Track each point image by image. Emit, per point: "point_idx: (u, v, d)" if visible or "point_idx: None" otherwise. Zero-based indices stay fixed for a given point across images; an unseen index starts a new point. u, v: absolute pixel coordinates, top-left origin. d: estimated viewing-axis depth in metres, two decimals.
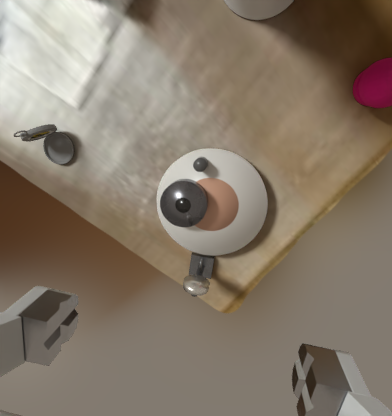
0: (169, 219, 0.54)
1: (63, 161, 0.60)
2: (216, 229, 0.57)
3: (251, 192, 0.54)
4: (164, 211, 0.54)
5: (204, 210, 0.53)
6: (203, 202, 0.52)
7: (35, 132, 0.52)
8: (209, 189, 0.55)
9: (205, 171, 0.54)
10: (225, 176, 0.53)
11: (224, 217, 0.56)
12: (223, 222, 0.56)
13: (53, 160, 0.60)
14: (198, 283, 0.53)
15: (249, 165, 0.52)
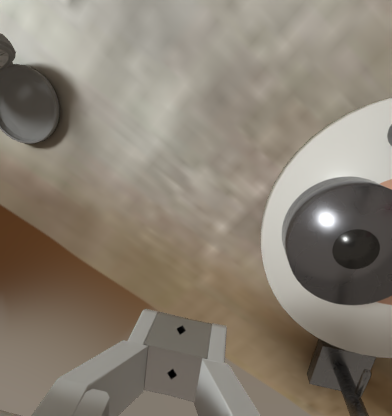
0: (308, 284, 0.21)
1: (35, 137, 0.26)
2: None
3: None
4: (297, 264, 0.20)
5: None
6: None
7: None
8: None
9: None
10: None
11: None
12: None
13: (13, 134, 0.26)
14: None
15: None
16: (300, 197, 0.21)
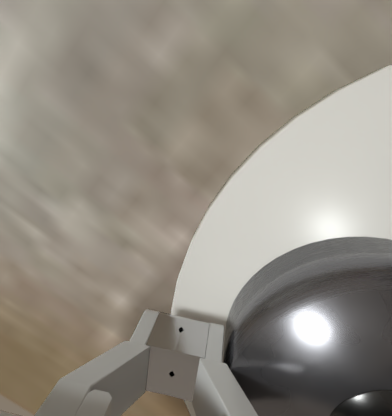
0: None
1: None
2: None
3: None
4: None
5: None
6: None
7: None
8: None
9: None
10: None
11: None
12: None
13: None
14: None
15: None
16: (256, 280, 0.10)
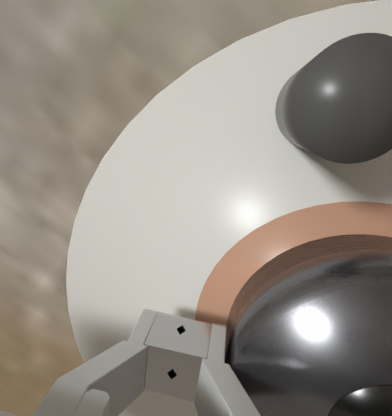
0: None
1: None
2: None
3: None
4: None
5: None
6: None
7: None
8: None
9: (334, 163, 0.09)
10: None
11: None
12: None
13: None
14: None
15: None
16: (256, 278, 0.10)
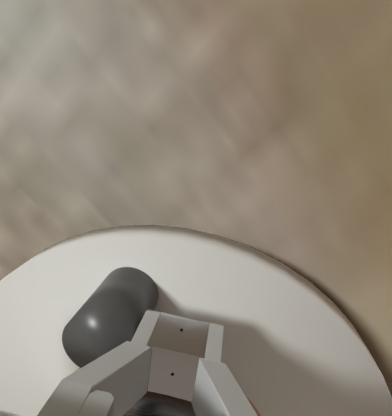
0: None
1: None
2: None
3: None
4: None
5: None
6: None
7: None
8: None
9: None
10: (230, 360, 0.12)
11: None
12: None
13: None
14: None
15: (349, 339, 0.11)
16: None
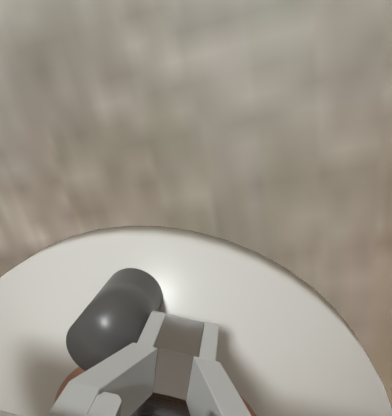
0: None
1: None
2: None
3: None
4: None
5: None
6: None
7: None
8: None
9: None
10: (231, 364, 0.12)
11: None
12: None
13: None
14: None
15: (352, 348, 0.11)
16: None
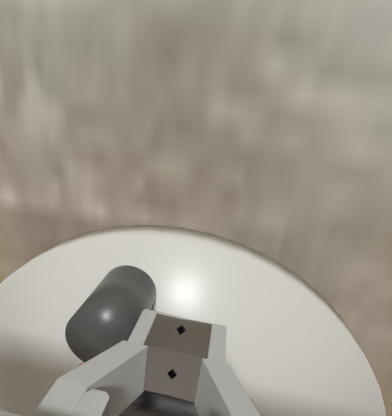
0: None
1: None
2: None
3: None
4: None
5: None
6: None
7: None
8: None
9: None
10: (225, 352, 0.13)
11: None
12: None
13: None
14: None
15: (337, 330, 0.12)
16: None
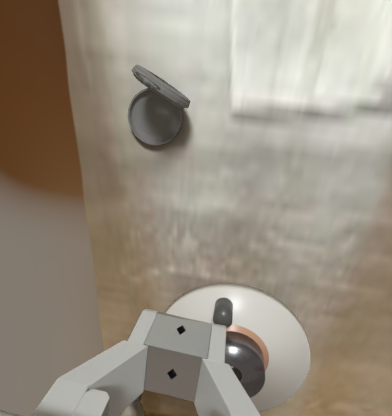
0: None
1: (140, 133, 0.35)
2: None
3: (289, 350, 0.38)
4: None
5: (260, 385, 0.37)
6: (261, 376, 0.37)
7: (164, 95, 0.27)
8: None
9: None
10: (255, 326, 0.38)
11: None
12: None
13: (130, 118, 0.34)
14: None
15: (291, 318, 0.37)
16: None
